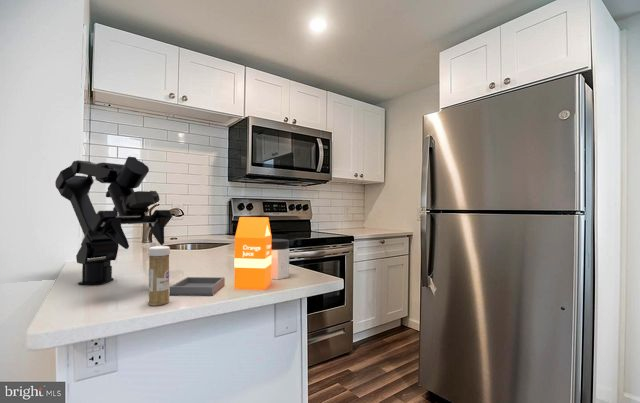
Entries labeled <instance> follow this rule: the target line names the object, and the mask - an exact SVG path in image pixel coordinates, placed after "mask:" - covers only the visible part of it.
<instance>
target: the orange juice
mask: <svg viewBox="0 0 640 403" xmlns="http://www.w3.org/2000/svg"><path fill="white" fill-rule="evenodd" d="M270 225H271V224H270V219H269V217H264V216H262V217H258V216H240V217H239V219H238V222H237V227H236V231H235V235H234V265H233V266H234V277H233V279H234V280H233V283H234V285H233V288H234V290H235V289H236V290H257V291H258V290H259V291H261V290H262V291H263V290H266V289H267V288H268V287H269V286H270V285H271V283H272V279H271V239H273V238H272V232H271V226H270Z"/></svg>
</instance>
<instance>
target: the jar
mask: <svg viewBox="0 0 640 403" xmlns="http://www.w3.org/2000/svg"><path fill="white" fill-rule="evenodd" d="M289 242H290V240H289V239H284V238H271V280H283V279H288V278H289V276H290V248H289V246H290V243H289Z"/></svg>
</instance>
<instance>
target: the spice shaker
mask: <svg viewBox="0 0 640 403" xmlns="http://www.w3.org/2000/svg"><path fill="white" fill-rule="evenodd" d="M170 254H171V247H170V246H167V245H159V246H158V245H156V246H150V247H149V248H148V258H149V259H148V260H149V263H148V267H149V268H148V302H147V303H148V305H150V306H153V307H154V306H156V307H157V306H162V305H163V306H164V305H166V304H168V303H169V302H170V299H169V297H170V295H169V290H170Z"/></svg>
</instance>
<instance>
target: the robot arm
mask: <svg viewBox="0 0 640 403" xmlns="http://www.w3.org/2000/svg"><path fill="white" fill-rule="evenodd" d="M149 171H150V169H149V166H148V165H147V164H145V163H144V162H142V161H140V160H139V159H138V158H137V157H136V156H135V157H134V156H127V158H126V160H125V162H124V164H120V163H111V162H97V163H95V162H91V161H87V160H74V161H72V163H71V164H70V165H69V166H68V167H66V168H64V169H62V170H61V171H60V172H59V174H58V176H57V177H56V180H55V188H56V189H57V191H58V193H59V194H60V196H61V197H63V198H65V199H67V200H68V201H69V202H70V204H71V206H72V209H73V211H74V213H75V215H76V218H77V220H78V223H79V225H80V229H81V230H82V233H83V236H84V237H83V239H82V242H81V244H80V248H79V250H78V251H77V253H76V255H75V256H76V257H75V259H76V264H81V265H82V269H81V270H82V272H81V273H82V275H81V277H82V279H81V281H79V282H78V283H77V285H82V286H83V285H84V286H85V285H89V286H90V285H91V286H92V285H95V286H97V285H99V286H100V285H103V284H106V283H108V282H111V281H114V279H115V278H114V277H113V275H112V274H113V266H112V264H111V261H116V260H117V256H118V251H119V246H121V247H122V248H123V249H125V250H128V249H129V248H130V245H129V241H128V239H127V237H126V235H125V233H124V231H123V228H122V225H139V224H140V225H143V224H147V226H148V227H149V228H150V232H151V234H152V235H153V236H154V238H155V240H156V241H157V243H159V244H160V246H164V244H165V227H166V226H167V225H168V223H169V222H170V220H172V219H173V214H172V212H171V211H170V209H169V210H168V209H155V210H154V211H153V212H152V214H150V215H146V214H145V213H148V212H149V207H150V206H152V205H154V204H157V203H159V201H160V195H159V193H158V192H157V190H149V191H146V190H145V191H144V190H143V191H142V190H139V191H135V190H134V189H137V188H139V187H140V185H141V184H142V183H143V181H144V179H145V178H146V177H147V175H148V173H149ZM77 174H79V175H77ZM81 174H82V175H81ZM85 175H86V176H85ZM93 177H95V180H96V181H97V182H99V183H101V184H108V187H107V191H106V193H105V197H106V198H110V199H111V200H112V203H113V205H114V207H112V210H98V211H97V212H96V210H95V208H94V205H93V203H92V200H91V199H90V196H89V192H90V190H91V187H92V185H93V184H94V183H95V182H94V178H93Z"/></svg>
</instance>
